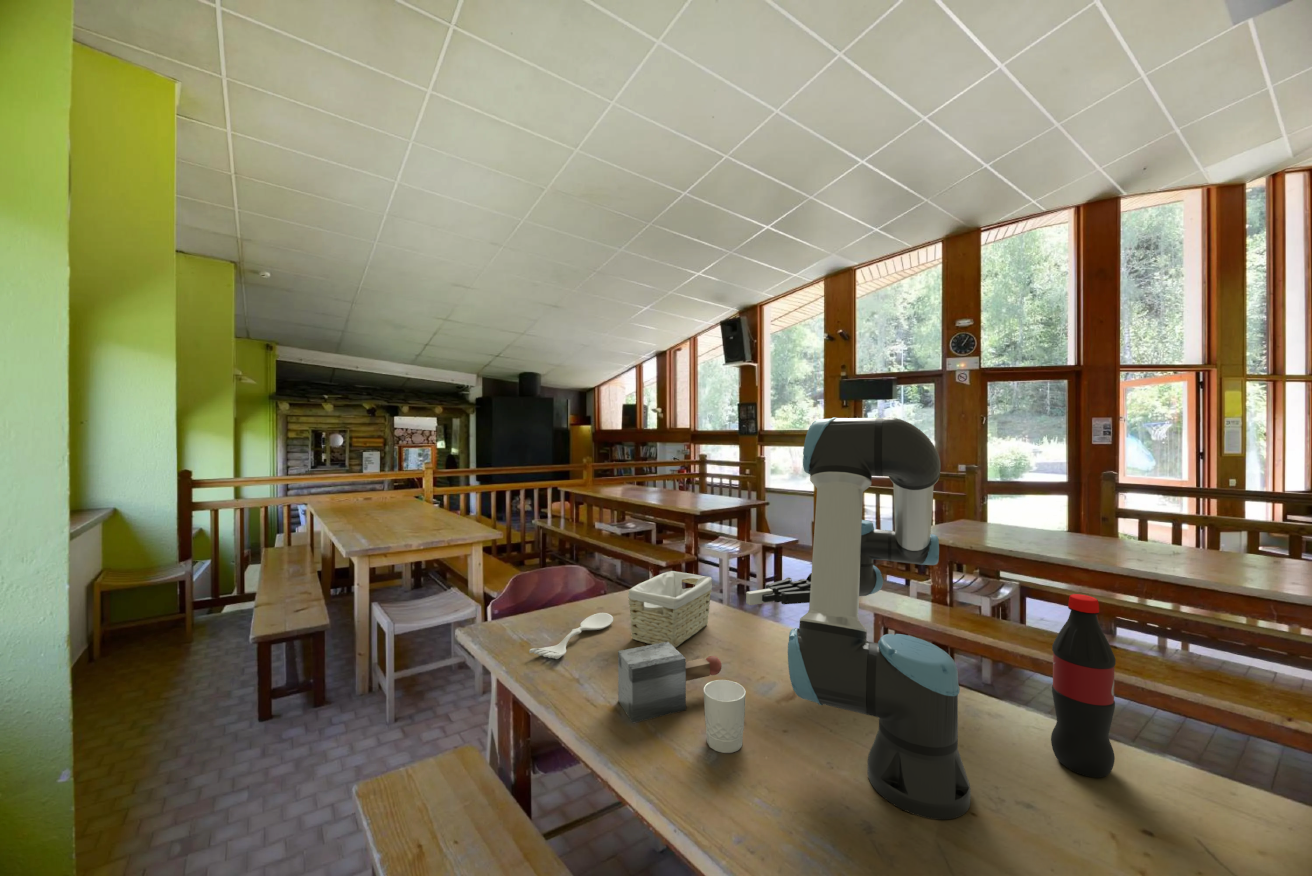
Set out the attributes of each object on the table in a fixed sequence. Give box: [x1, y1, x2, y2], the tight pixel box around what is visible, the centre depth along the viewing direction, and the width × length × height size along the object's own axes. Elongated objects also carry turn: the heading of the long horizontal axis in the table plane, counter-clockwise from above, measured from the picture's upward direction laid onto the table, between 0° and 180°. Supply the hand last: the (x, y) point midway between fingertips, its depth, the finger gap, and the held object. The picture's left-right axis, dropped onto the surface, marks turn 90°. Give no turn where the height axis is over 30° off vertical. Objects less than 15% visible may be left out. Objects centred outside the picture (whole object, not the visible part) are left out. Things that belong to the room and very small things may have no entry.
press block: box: [617, 642, 687, 724], centre depth 107 cm, size 12×9×11 cm
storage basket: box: [627, 570, 713, 649], centre depth 146 cm, size 24×16×15 cm
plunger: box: [686, 655, 723, 682], centre depth 111 cm, size 14×4×4 cm, turn 113°
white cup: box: [703, 679, 747, 754], centre depth 95 cm, size 8×8×10 cm
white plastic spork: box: [528, 612, 614, 660], centre depth 141 cm, size 9×32×4 cm, turn 155°
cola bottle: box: [1050, 593, 1117, 778], centre depth 87 cm, size 8×8×30 cm
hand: (748, 598), depth 117 cm, fingers closed
